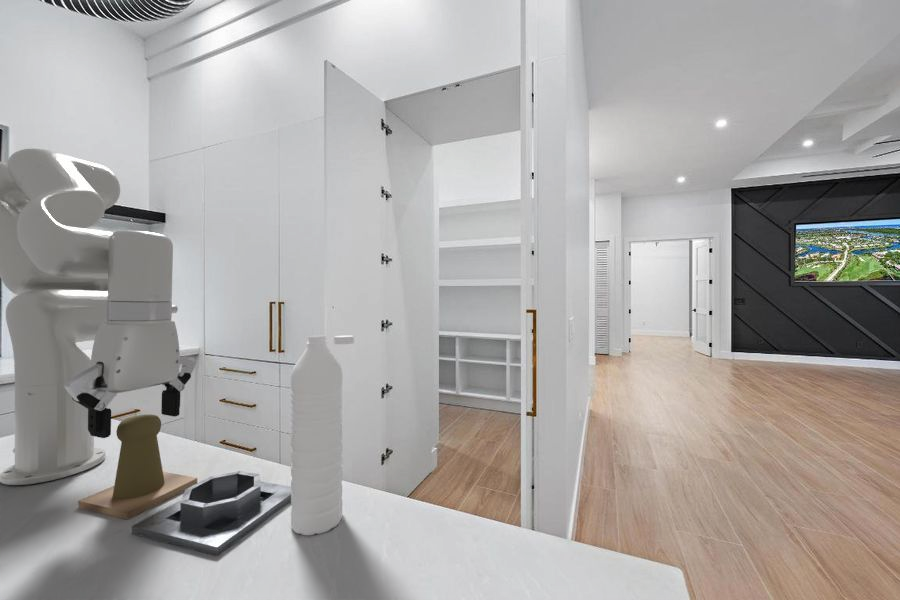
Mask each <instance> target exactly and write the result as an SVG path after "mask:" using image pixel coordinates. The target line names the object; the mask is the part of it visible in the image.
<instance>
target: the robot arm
mask: <svg viewBox="0 0 900 600" xmlns="http://www.w3.org/2000/svg"><path fill="white" fill-rule="evenodd" d="M120 196H121V185H120V182H119V179H118V177H117V176H116V174H115V173H114V172H113V171H111V169H109V168H108V167H106V166H104V165H101V164H98V163H96V162H93V161H92V162H91V161H88V160H84V159H81V158H77V157H75V156H70V155H68V154H63V153H59V152H56V151H52V150H48V149H44V148H43V149H42V148H24V149H23V148H22V149H20V150H17V151H15V152H13V153H12V154H11V155H10V157H8V160H7V162H4V161H0V279H1V281H2V283H3V285H4V286H5V287H6V288H7V289H8V291H10V292H12V294H15V296H13V298H11V299H10V300H9V302H8V303H7V305H6V309H5V321H6V326H7V329H8V333H9V337H10V342H11V346H12V351H13V362H14V366H13V367H14V448H13V450H12V452H13V454H14V465H11V466H9V467H7V468H6V469H4V470H3V471H1V473H0V483H1V484H3V485H7V486H26V485H33V484H39V483H46V482H50V481H55V480H59V479H63V478H67V477H69V476H73V475H76V474H79V473H82V472H85V471H87V470H89V469H91V468H93V467H96V466H97V465H99V464H100V463H102V462H104V460H105V459H106V450H105V449H102V448H98V447H95V437H96V438H101V439H106V438H109V437H110V436H111V434H112V410H111V408H109V407H108V408H107V406H108V405H109V404H110V403H111V402H112V401H113V400H114V399H115V397H116V396H117V395H118V394H121V393H127V392H132V391H136V390H141V389H147V388H151V387H155V386H160V385H162V386H163V387H164V389H165V390H164V389H163V390H162V391H161V415H163V416H169V417H179V415H180V408H181V392H183V391H184V390H185V387H186V386H185V385H186V384H187V383H188V382H189V380H190V379H191V378H192V374H193V371H194V369H195V367H196V365H197V362H196V361H194V360H192V359H189V358H186V357H184V356H181V354H180V345H179V343H180V342H179V341H180V340H179V335H178V330H177V326H176V325H177V324H176V322H175V321H174V320H173V321H172V315H173V314H177V312H178V306H177V305H174V304H173V302H172V301H173V297H172V296H173V265H174V264H173V259H174V244H173V241H172V240H171V239H170V237H168V236H167V235H164V234H161V233H156V232H150V231H143V230H131V229H130V230H128V229H126V230H123V229H121V230H117V231H115V232H112V231H106V230H100V229H93V228H91V229H90V227H92V226H94V225H96V224H97V223H99V222H100V220H101V219H102V218H103V217H104V214H105V213H106V212H105V211H106V210H107V209H109V208H111V207H113V206H114V205H115V204H116V203H117V202H118V200H119V198H120ZM89 341H93V346H92V348H91V349H92V350H91V357H89V356H88V355H87V354H86V353H85V352H84V351H83V350H82V349H80V348H79V347H78V346H77V344H76V343H82V342H89ZM180 367H181V369H180Z"/></svg>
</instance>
